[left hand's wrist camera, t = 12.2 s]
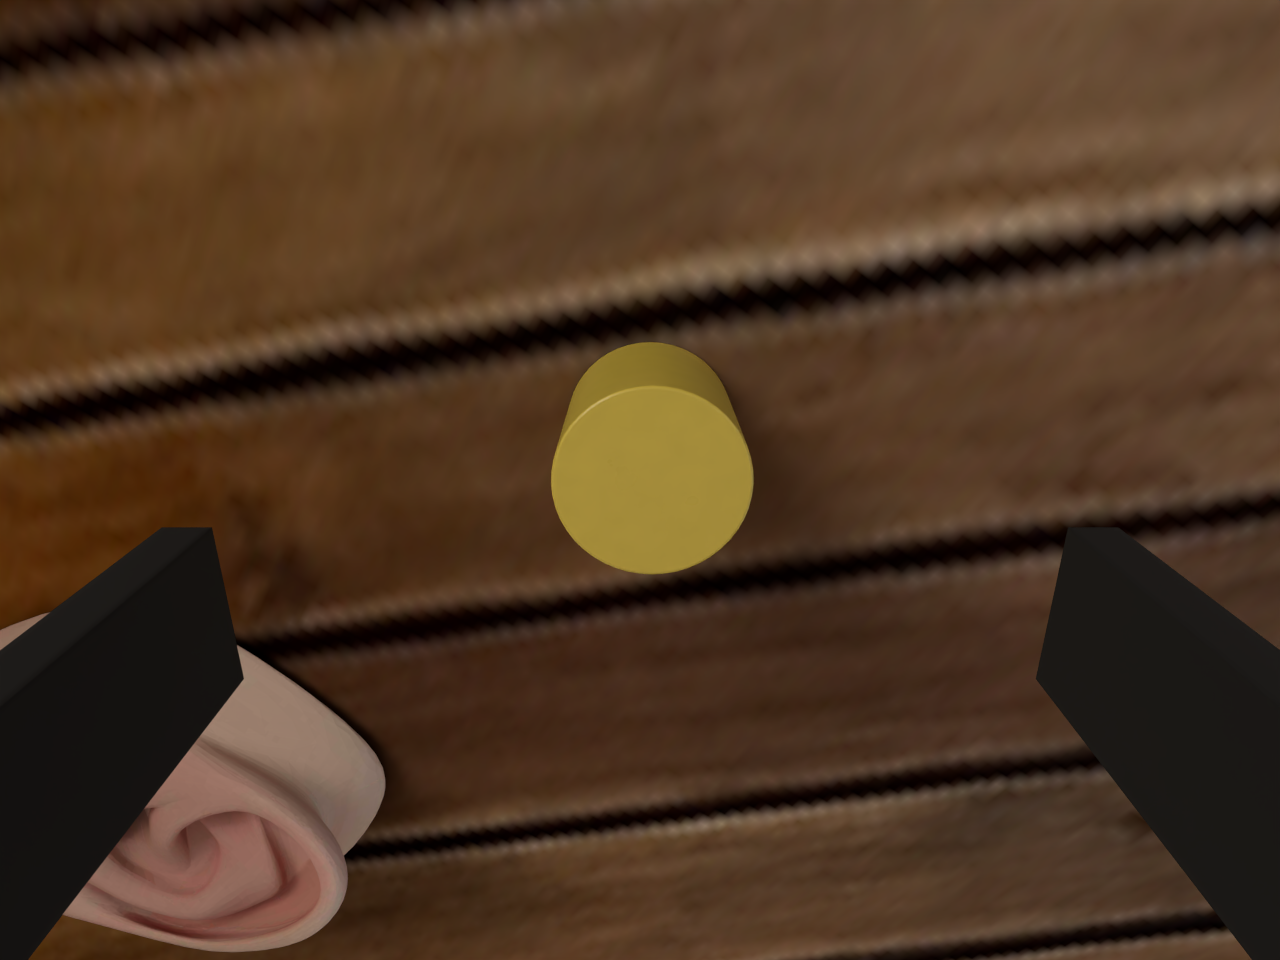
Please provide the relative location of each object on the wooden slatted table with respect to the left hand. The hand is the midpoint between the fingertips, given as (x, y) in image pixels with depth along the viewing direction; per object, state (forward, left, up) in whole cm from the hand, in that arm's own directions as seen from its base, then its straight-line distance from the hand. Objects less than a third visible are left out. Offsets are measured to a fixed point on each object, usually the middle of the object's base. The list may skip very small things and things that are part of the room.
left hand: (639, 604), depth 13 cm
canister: (0, 0, -11) cm, 11 cm away
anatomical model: (+17, +9, -11) cm, 22 cm away
